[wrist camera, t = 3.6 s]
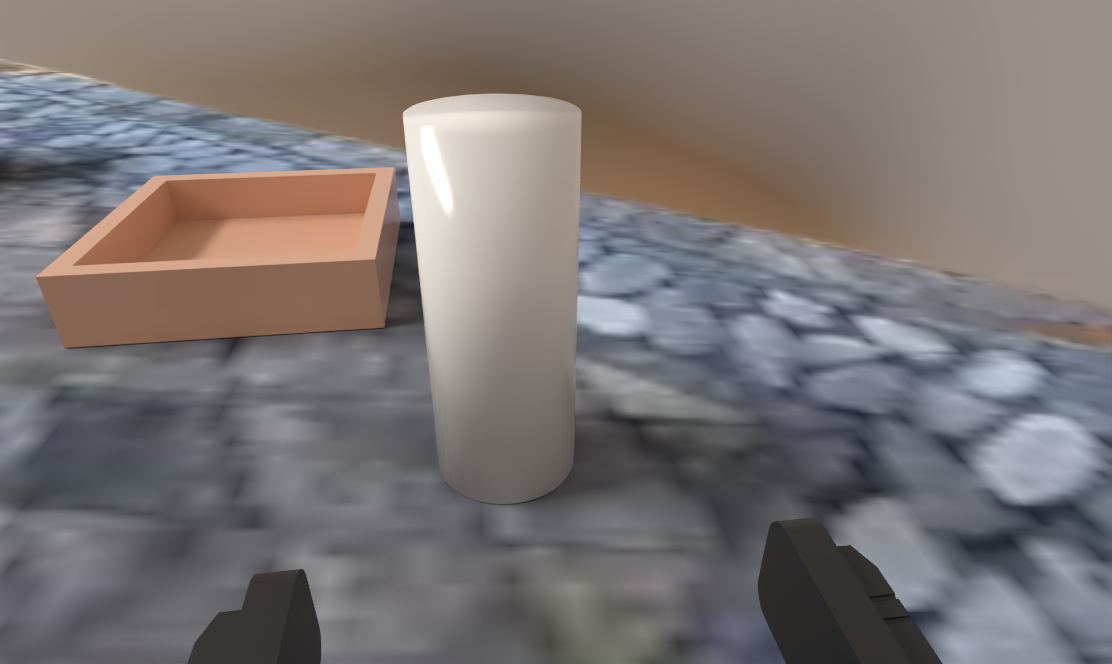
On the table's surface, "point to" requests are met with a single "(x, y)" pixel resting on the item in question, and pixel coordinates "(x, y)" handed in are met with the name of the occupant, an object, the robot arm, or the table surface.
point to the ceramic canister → (499, 286)
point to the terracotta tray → (231, 259)
